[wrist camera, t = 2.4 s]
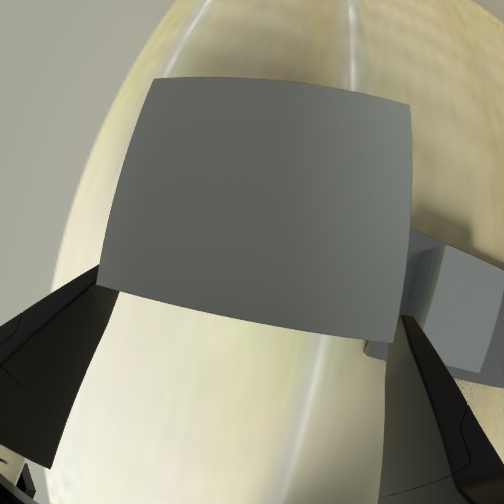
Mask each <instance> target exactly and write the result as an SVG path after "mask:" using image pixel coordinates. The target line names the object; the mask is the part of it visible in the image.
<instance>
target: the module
mask: <svg viewBox="0 0 504 504" xmlns="http://www.w3.org/2000/svg"><path fill="white" fill-rule="evenodd" d="M411 198H412V134H411V115H410V105H407V104H403V103H399V102H396V101H392V100H388V99H384V98H380V97H375V96H371V95H367V94H362V93H357V92H352V91H347V90H342V89H336V88H330V87H324V86H318V85H311V84H304V83H296V82H287V81H277V80H266V79H252V78H231V77H180V78H159V79H154V80H153V82H152V85H151V87H150V89H149V92H148V94H147V97H146V99H145V102H144V105H143V107H142V110H141V113H140V115H139V118H138V121H137V124H136V126H135V129H134V132H133V135H132V138H131V141H130V144H129V147H128V150H127V153H126V157H125V160H124V163H123V166H122V170H121V173H120V177H119V180H118V184H117V188H116V191H115V195H114V199H113V203H112V207H111V211H110V215H109V219H108V224H107V228H106V233H105V238H104V243H103V248H102V253H101V258H100V264H99V269H98V275H97V282H96V285H100V286H103V287H107V288H110V289H114V290H117V291H121V292H125V293H129V294H132V295H136V296H140V297H144V298H148V299H152V300H156V301H160V302H164V303H168V304H172V305H176V306H180V307H185V308H189V309H193V310H198V311H202V312H207V313H211V314H216V315H221V316H226V317H230V318H235V319H240V320H245V321H251V322H256V323H261V324H266V325H272V326H277V327H283V328H289V329H295V330H301V331H307V332H313V333H320V334H326V335H333V336H340V337H347V338H355V339H362V340H370V341H379V342H387V343H393V340H394V336H395V331H396V326H397V321H398V315H399V310H400V304H401V298H402V291H403V285H404V278H405V270H406V262H407V253H408V243H409V231H410V217H411Z"/></svg>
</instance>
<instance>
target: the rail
mask: <svg viewBox="0 0 504 504" xmlns="http://www.w3.org/2000/svg"><path fill="white" fill-rule="evenodd" d="M400 314H407V315H412V316H413V317H414V318H415V319H416V321H417V322H418V324H419V325H420V327H421V328H422V330H423V331H424V333H425V334H426V336H427V337H428V339H429V340H430V342H431V343H432V345H433V347H434V348H435V350H436V351H437V353H438V354H439V356H440V358H441V359H442V361H443V362H444V364H445V366H446V367H447V369H448V371H449V372H450V374H451V376H452V377H453V378H456V379H460V380H465V381H470V382H474V383H479V384H484V385H489V386H494V387H499V388H504V270H503V269H501V268H498V267H496V266H494V265H492V264H490V263H488V262H486V261H484V260H482V259H479V258H477V257H475V256H473V255H471V254H468V253H466V252H464V251H462V250H459V249H457V248H455V247H453V246H450V245H448V244H446V243H443V242H441V241H439V240H436V239H434V238H431V237H429V236H427V235H424V234H422V233H419V232H417V231H414V230H412V229H410V231H409V243H408V253H407V262H406V270H405V278H404V285H403V291H402V298H401V304H400V310H399V315H400ZM399 315H398V316H399ZM387 350H388V343H387V342H379V341H370V340H368V341H367V343H366V346H365V349H364V351H363V352H364V353H365V354H366V355H367V356H370V357H374V358H378V359H381V360H385V361H387Z"/></svg>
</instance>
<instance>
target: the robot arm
mask: <svg viewBox="0 0 504 504" xmlns="http://www.w3.org/2000/svg"><path fill="white" fill-rule="evenodd" d="M98 269H99V265H97V266H95V267H94V268H92V269H90V270H88V271H87V272H85V273H83V274H82V275H80V276H78V277H77V278H75V279H74V280H72V281H70V282H69V283H67V284H65V285H64V286H62V287H61V288H59V289H57V290H56V291H54V292H53V293H51V294H49V295H48V296H46V297H45V298H43V299H42V300H40V301H39V302H37V303H35V304H34V305H32V306H31V307H29V308H28V309H26V310H25V311H24V312H23V313H20V314H19V315H17V316H16V317H14V318H13V319H11V320H10V321H8V322H6V323H5V324H3V325H2V326H0V504H38V503H37V502H35V501H34V500H33V497H34V495H35V492H36V490H35V487H34V484H33V481H32V478H31V475H30V472H29V468H28V465H27V463H25V461H26V459H29V460H31V461H33V462H35V463H37V464H39V465H41V466H43V467H46V468H48V469H51V467H52V464H53V461H54V458H55V455H56V452H57V448H58V445H59V442H60V440H61V437H62V434H63V431H64V428H65V425H66V422H67V419H68V417H69V414H70V411H71V409H72V406H73V403H74V401H75V398H76V396H77V393H78V391H79V388H80V386H81V383H82V381H83V379H84V376H85V374H86V371H87V369H88V367H89V364H90V362H91V360H92V358H93V355H94V353H95V351H96V349H97V346H98V344H99V342H100V340H101V338H102V336H103V333H104V331H105V329H106V327H107V324H108V322H109V319H110V317H111V314H112V311H113V308H114V306H115V303H116V300H117V298H118V295H119V292H120V291H117V290H114V289H110V288H107V287H103V286H100V285H96V282H97V275H98ZM378 504H504V464H503V462H502V460H501V459H500V457H499V455H498V454H497V452H496V451H495V449H494V447H493V446H492V444H491V443H490V441H489V439H488V438H487V436H486V435H485V433H484V431H483V430H482V428H481V426H480V425H479V423H478V421H477V419H476V417H475V416H474V414H473V412H472V410H471V408H470V407H469V405H467V401H466V400H465V398H464V396H463V394H462V393H461V391H460V389H459V387H458V386H457V384H456V382H455V381H454V379H453V377H452V376H451V374H450V372H449V371H448V369H447V367H446V366H445V364H444V362H443V361H442V359H441V358H440V356H439V354H438V353H437V351H436V350H435V348H434V347H433V345H432V343H431V342H430V340H429V339H428V337H427V336H426V334H425V333H424V331H423V330H422V328H421V327H420V325H419V324H418V322H417V321H416V319H415V318H414V317H413V316H412V315H407V314H400V315H399V316H398V321H397V326H396V331H395V336H394V340H393V343H388V350H387V363H386V375H385V422H384V444H383V459H382V470H381V481H380V489H379V499H378Z"/></svg>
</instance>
